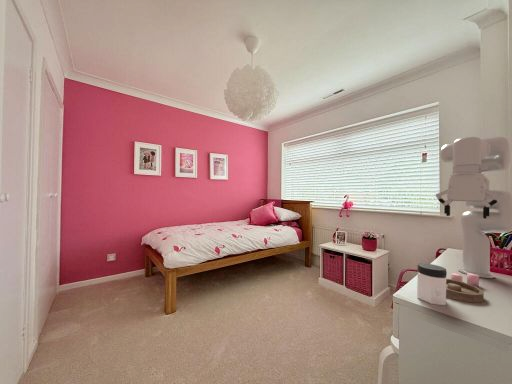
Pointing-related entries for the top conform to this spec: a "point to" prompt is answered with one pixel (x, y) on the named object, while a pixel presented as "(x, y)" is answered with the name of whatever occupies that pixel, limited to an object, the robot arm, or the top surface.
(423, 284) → the jar
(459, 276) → the bead
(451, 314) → the top surface
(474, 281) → the bead
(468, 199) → the robot arm
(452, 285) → the tray
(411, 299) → the top surface
